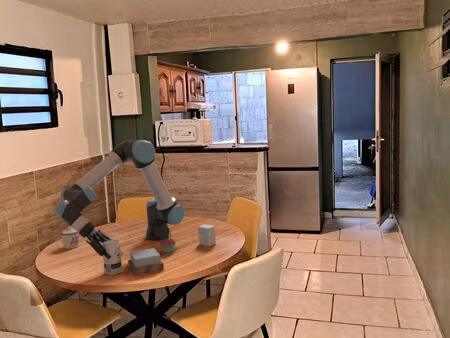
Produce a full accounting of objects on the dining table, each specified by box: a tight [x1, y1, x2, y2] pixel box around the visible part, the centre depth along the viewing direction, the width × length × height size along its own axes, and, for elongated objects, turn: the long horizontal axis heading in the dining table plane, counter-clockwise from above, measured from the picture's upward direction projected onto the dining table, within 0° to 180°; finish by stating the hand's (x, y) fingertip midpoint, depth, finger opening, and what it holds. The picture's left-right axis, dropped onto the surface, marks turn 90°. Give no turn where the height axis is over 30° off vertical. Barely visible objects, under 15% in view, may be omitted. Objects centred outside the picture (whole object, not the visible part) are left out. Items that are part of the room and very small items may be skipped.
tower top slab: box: [129, 247, 161, 268], centre depth 214 cm, size 12×12×4 cm
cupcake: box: [159, 231, 176, 254], centre depth 237 cm, size 9×8×12 cm
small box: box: [197, 224, 217, 247], centre depth 247 cm, size 8×6×10 cm
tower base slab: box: [127, 259, 165, 277], centre depth 215 cm, size 14×14×4 cm
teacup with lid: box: [61, 226, 80, 250], centre depth 255 cm, size 12×9×12 cm
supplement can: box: [102, 239, 123, 276], centre depth 211 cm, size 8×8×15 cm
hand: (119, 258), depth 210 cm, fingers closed on supplement can, 8 cm apart
